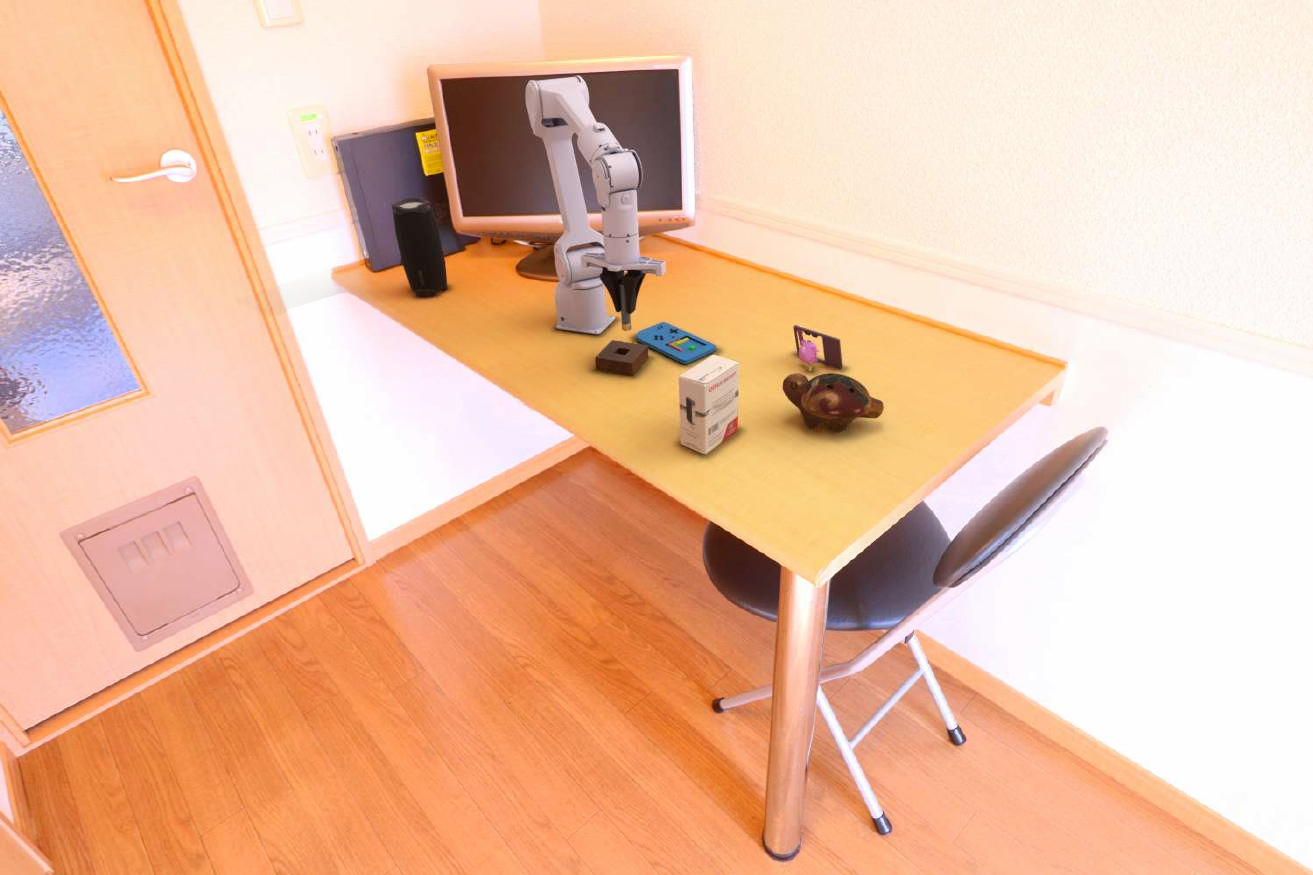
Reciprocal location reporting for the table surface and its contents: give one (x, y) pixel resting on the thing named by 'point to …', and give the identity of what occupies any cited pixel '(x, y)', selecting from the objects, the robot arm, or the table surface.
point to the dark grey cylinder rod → (624, 308)
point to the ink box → (708, 403)
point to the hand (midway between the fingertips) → (625, 310)
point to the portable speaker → (420, 246)
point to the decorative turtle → (831, 399)
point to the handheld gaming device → (675, 342)
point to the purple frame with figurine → (810, 350)
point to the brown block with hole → (622, 358)
